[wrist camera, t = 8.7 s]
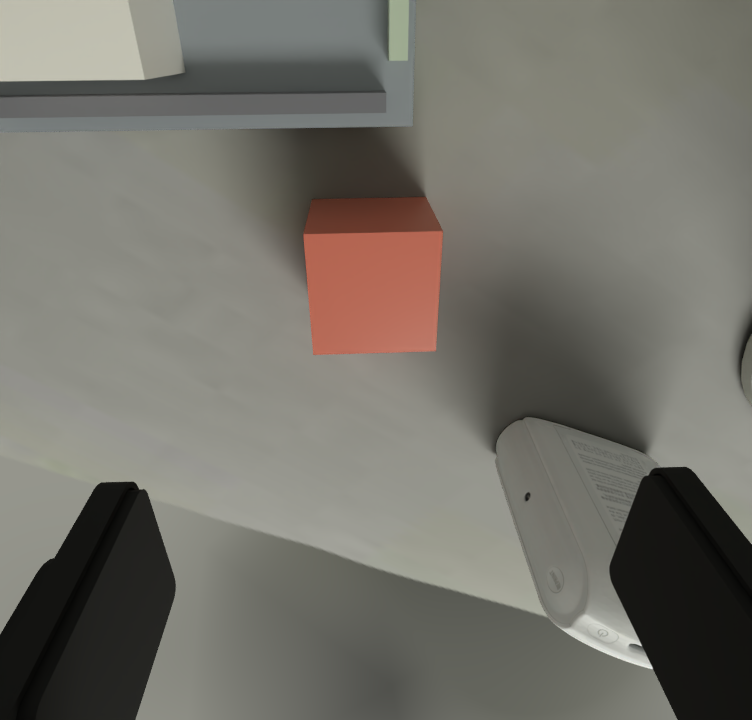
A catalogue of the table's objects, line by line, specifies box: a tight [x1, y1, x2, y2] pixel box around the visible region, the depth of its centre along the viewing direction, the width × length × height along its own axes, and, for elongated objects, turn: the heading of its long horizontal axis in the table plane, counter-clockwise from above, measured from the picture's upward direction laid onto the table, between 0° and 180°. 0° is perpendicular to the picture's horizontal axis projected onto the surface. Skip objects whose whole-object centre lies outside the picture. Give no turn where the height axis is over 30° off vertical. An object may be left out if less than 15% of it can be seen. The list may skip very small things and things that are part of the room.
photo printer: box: [495, 417, 661, 669], centre depth 26 cm, size 10×4×12 cm, turn 68°
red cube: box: [303, 197, 443, 355], centre depth 22 cm, size 5×5×5 cm
